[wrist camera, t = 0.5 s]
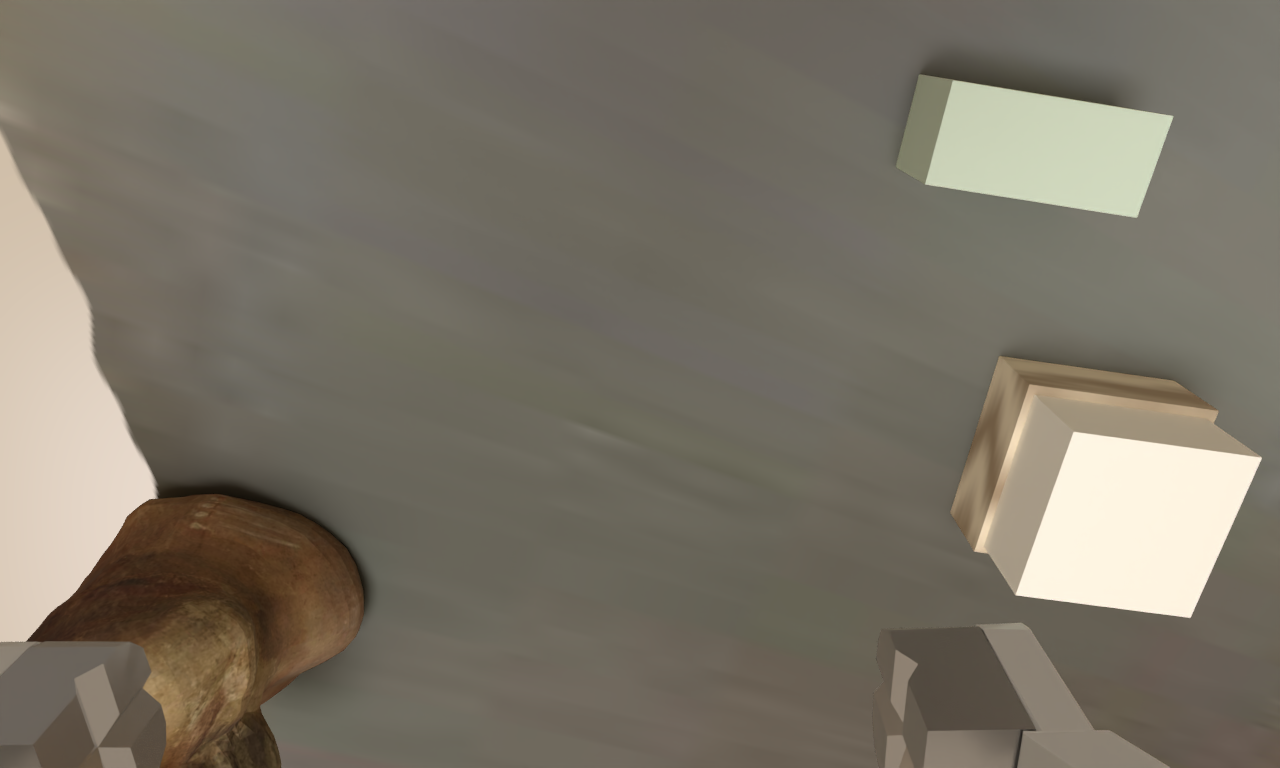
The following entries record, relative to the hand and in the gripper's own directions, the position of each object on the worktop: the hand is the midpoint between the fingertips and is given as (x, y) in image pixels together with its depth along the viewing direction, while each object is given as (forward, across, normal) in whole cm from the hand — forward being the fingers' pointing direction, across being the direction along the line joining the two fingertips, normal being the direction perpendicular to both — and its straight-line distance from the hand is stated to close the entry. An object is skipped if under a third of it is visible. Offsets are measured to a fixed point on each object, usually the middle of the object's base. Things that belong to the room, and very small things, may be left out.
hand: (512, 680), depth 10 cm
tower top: (+38, -27, +19) cm, 51 cm away
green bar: (+43, -21, 0) cm, 48 cm away
